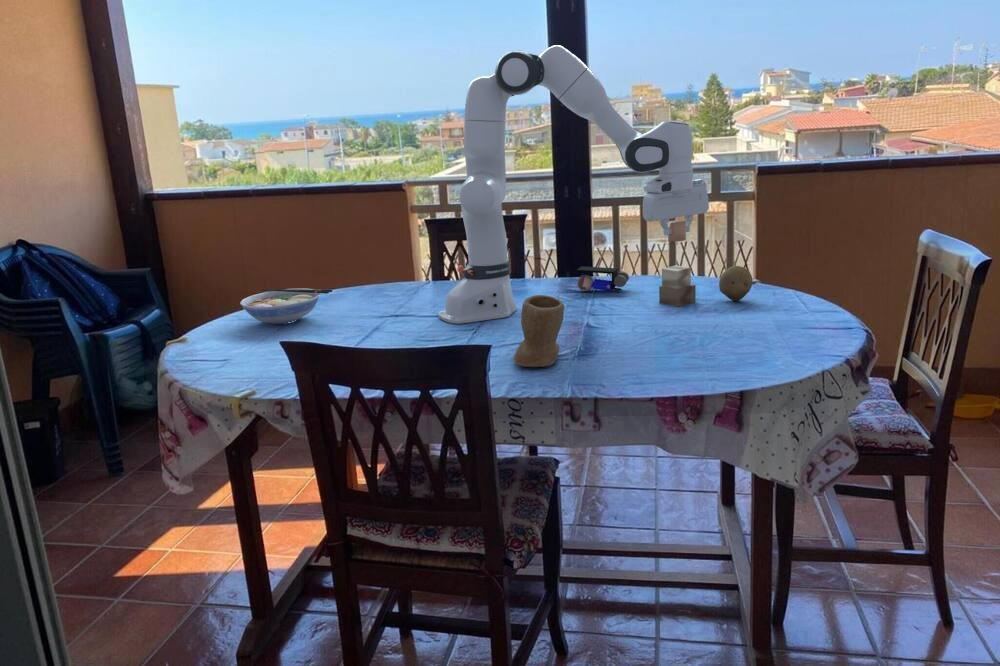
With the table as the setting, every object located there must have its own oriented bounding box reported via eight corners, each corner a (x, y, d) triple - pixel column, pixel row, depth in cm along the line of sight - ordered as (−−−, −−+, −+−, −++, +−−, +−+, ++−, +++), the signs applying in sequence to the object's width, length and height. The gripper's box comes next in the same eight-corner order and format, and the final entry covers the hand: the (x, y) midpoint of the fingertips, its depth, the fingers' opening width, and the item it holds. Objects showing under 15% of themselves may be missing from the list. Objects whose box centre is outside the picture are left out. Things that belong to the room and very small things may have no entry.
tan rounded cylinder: (675, 242, 217) (675, 223, 216) (664, 240, 221) (664, 221, 220) (689, 239, 219) (689, 221, 218) (678, 237, 223) (677, 219, 222)
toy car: (628, 293, 246) (579, 287, 250) (630, 268, 243) (581, 263, 248) (624, 298, 240) (574, 292, 244) (626, 273, 237) (576, 267, 242)
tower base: (679, 307, 220) (678, 289, 219) (659, 303, 226) (659, 286, 224) (695, 302, 224) (695, 284, 223) (675, 298, 230) (675, 281, 228)
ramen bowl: (223, 330, 231) (219, 302, 228) (276, 309, 250) (273, 284, 248) (292, 335, 220) (288, 306, 218) (342, 313, 240) (339, 286, 237)
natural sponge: (751, 305, 216) (752, 269, 213) (717, 305, 219) (717, 269, 216) (752, 297, 224) (753, 262, 222) (719, 297, 227) (719, 262, 224)
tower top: (677, 289, 220) (677, 271, 219) (662, 286, 224) (661, 268, 223) (690, 285, 223) (690, 267, 222) (675, 282, 227) (675, 265, 226)
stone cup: (562, 371, 175) (559, 304, 171) (509, 371, 178) (504, 305, 174) (571, 350, 190) (568, 288, 185) (521, 350, 192) (517, 289, 188)
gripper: (698, 177, 223) (698, 227, 227) (638, 186, 214) (639, 237, 218) (714, 178, 218) (713, 229, 221) (653, 187, 209) (654, 240, 213)
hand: (676, 233), depth 220 cm, fingers closed on tan rounded cylinder, 5 cm apart
